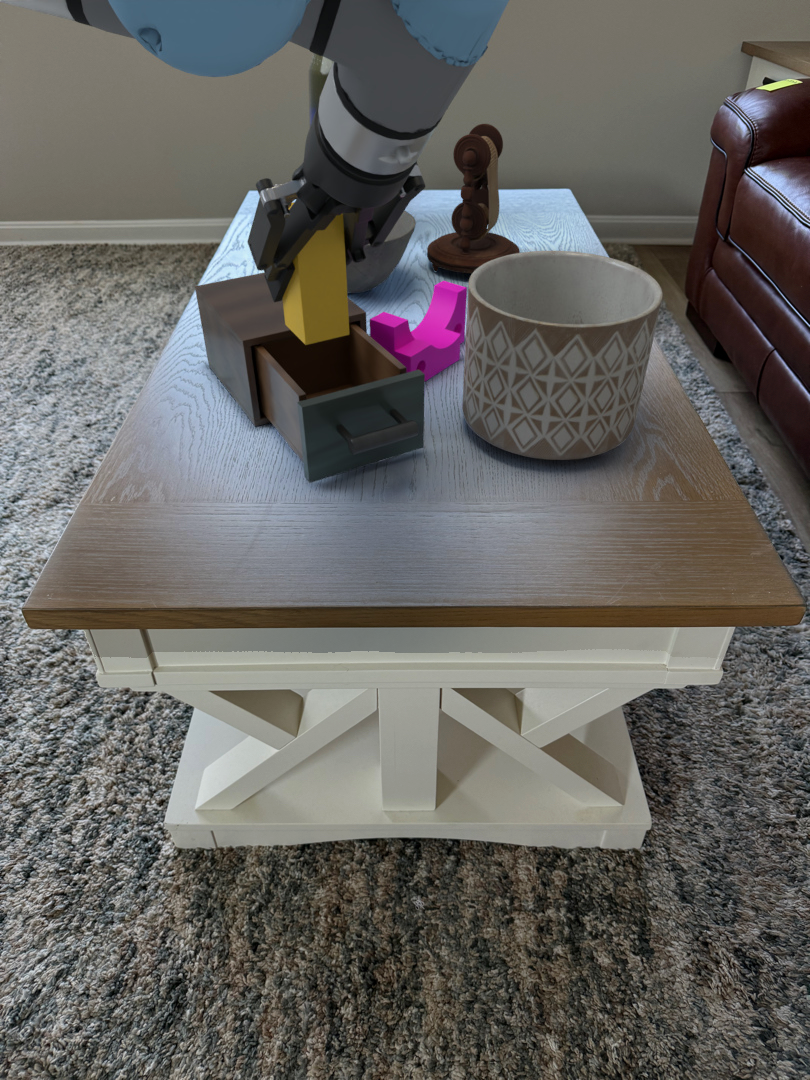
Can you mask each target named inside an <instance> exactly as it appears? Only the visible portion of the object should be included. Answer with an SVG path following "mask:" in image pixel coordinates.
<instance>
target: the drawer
mask: <svg viewBox="0 0 810 1080" xmlns="http://www.w3.org/2000/svg"><path fill="white" fill-rule="evenodd" d="M252 351H253V358H254V365H255V373H256V380H257V387H258V395H259V402H260V408H261V411H262V412H263V413H264V414H265V416H266V417H267V418H268V419H269V421H270V423H271V425H272V426H273V427H274V428H275V429H276V431H277V432H278V433H279V435H280V436H281V437H282V439H284V441H285V443H287V444H288V446H289V447H290V448H291V450H292V451H293V452H294V453H295V455H297V457H298V458H299V459H300V461H301V462H302V463H303V472H304V478H305V479H306V481H307V482H308V483H309V484H311V483H314V482H317V481H320V480H324V479H326V478H329V477H334V476H337V475H339V474H343V473H346V472H349V471H353V470H357V469H359V468H362V467H365V466H369V465H372V464H375V463H378V462H381V461H384V460H387V459H391V458H394V457H397V456H401V455H404V454H407V453H410V452H413V451H417V450H421V449H423V448H424V442H425V441H424V440H425V439H424V437H425V433H424V432H425V425H424V424H425V382H426V381H425V374H424V373H423V372H421V371H420V370H415V371H411V372H408V373H406V367H405V366H404V365H403V364H402V363H401V362H399V361H398V360H397V359H396V358H395V357H394V356H392V355H391V354H390V353H389V352H388V351H387V350H385V349H384V348H383V347H382V346H381V345H380V344H378V343H377V342H376V341H375V340H374V339H373V338H371V337H370V334H368V332H367V333H366V332H364V331H363V330H362V329H361V328H360V327H359V326H357V325H356V324H355V323H354V322H351V323H349V335H346V336H342V337H338V338H333V339H329V340H325V341H321V342H317V343H313V344H308V345H305V344H304V343H303V342H302V341H301V340H300V339H299V338H298V337H297V336H296V335H295V336H291V337H287V338H283V339H278V340H274V341H270V342H265V343H261V344H257V345H253V346H252Z"/></svg>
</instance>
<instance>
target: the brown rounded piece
mask: <svg viewBox="0 0 810 1080" xmlns="http://www.w3.org/2000/svg"><path fill="white" fill-rule="evenodd" d="M503 149H504V140H503V136H502V134H501V133H500V131H499V130H498V128H496V127H495V126H494V125H492V124H490V123H480V124H477V125H476V126H474V127H472V128H471V130H470V131H469V133H468V134H466V135H463V136H462V137H460V138H459V139H458V140H457V142H456V143H455V145H454V149H453V162H454V164H455V166H456V168H457V169H458V171H459V172H460V173H461V174H462V176H463V179H462V181H463V184H464V185H462V187H461V189H460V198H461V199H462V200H461V201H462V202H460V203H458V205H456V206H455V208H454V209H453V211H452V214H451V225H452V228H453V230H454V232H450V233H446V234H443V235H441V236H439V237H438V238H435V239H434V240H431V242H430V243H429V244H428V245H427V248H426V257H427V259H428V261H429V262H430V263H431V266H432V269H433V272H435V273H436V272H438V271H439V268H440V269H443V270H447V271H451V272H455V273H460V274H461V273H462V274H472V273H473V272H474V271H475V270H476V269H477V268H478V267H480V266H481V265H483V264H484V263H486V262H488V261H491V260H493V259H496V258H499V257H502V256H506V255H510V254H516V253H521V252H520V251H521V250H520V248H519V246H518V245H517V244H516V243H515V242H513V241H512V240H511V239H509V238H507V237H506V236H503V235H500V234H497V233H495V232H494V233H493V232H491V230H492V229H493V228H494V227H495V226H496V225H497V222H498V220H499V216H500V192H499V191H500V190H499V174H498V173H499V172H498V170H499V158H500V156H501V155H502V153H503Z"/></svg>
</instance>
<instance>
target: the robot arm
mask: <svg viewBox="0 0 810 1080" xmlns="http://www.w3.org/2000/svg"><path fill="white" fill-rule="evenodd" d="M509 2H510V0H0V3H2V4H6V5H11V6H14V7H19V8H23V9H26V10H30V11H34V12H37V13H42V14H45V15H49V16H53V17H57V18H60V19H65V20H69V21H72V22H76V23H79V24H81V25H85V26H89V27H93V28H94V29H95V28H96V29H98V30H101V31H104V32H107V33H110V34H115V35H119V36H123V37H125V38H130V39H134V40H136V41H137V42H138V43H139V44H140V45H141V46H142V47H143V48H144V49H145V50H146V51H147V52H149V53H150V54H151V55H153V56H155V58H157V59H159V60H160V61H162V62H163V63H165V64H166V65H168V66H170V67H171V68H174V69H175V70H178V71H181V72H184V73H187V74H190V75H195V76H198V77H208V78H222V77H229V76H230V77H231V76H235V75H240V74H242V73H245V72H247V71H250V70H252V69H253V68H255V67H257V66H260V65H261V64H262V63H263V62H265V61H266V60H267V59H268V58H270V57H272V56H273V55H275V54H276V53H278V52H279V51H280V50H281V49H283V48H284V47H285V46H286V45H287V44H288V43H289V42H290V43H292V44H294V45H297V46H299V47H300V48H304V49H306V50H308V51H309V52H310V53H313V54H314V53H315V54H317V55H319V56H323V57H325V58H327V59H329V60H331V61H333V64H332V66H331V69H330V72H329V74H328V77H327V80H326V82H325V85H324V88H323V90H322V93H321V96H320V100H319V104H318V107H317V109H316V112H315V115H314V118H313V120H312V123H311V126H310V125H309V129H308V132H307V135H306V139H305V143H304V155H303V156H304V157H303V162H302V163H301V164H300V165H299V166H298V167H297V168H296V169H295V170H294V171H293V173H292V175H291V180H290V181H287V182H284V183H281V184H279V183H275V184H273V181H272V180H271V178H267V177H266V178H262V179H260V180H258V181H257V182H256V183H255V187H256V190H257V193H258V197H259V198H258V202H257V206H256V209H255V213H254V216H253V220H252V222H251V223H252V224H251V228H250V231H249V234H248V239H247V245H248V248H249V251H250V253H251V256H252V259H253V261H254V265H255V267H256V270H258V271H261V272H262V271H263V273H264V272H265V275H264V276H265V279H266V282H267V285H268V287H269V290H270V293H271V296H272V298H273V301H274V302H278V301H282V298H283V296H284V293H285V291H286V289H287V286H288V284H289V282H290V280H291V277H292V275H293V273H294V271H295V267H294V264H293V260H294V259H295V257H296V256H297V255H298V254H299V252H300V251H301V250H302V249H303V247H304V246H305V245H306V244H307V243H308V241H309V240H310V239H311V238H312V236H313V235H314V234H315V233H316V231H317V230H325V229H326V228H327V227H328V225H329V224H330V223H331V222H332V220H333V219H334V218H335V217H336V216H337V215H341V214H342V213H343V220H344V239H345V258H346V266H347V265H349V264H350V263H351V262H352V260H353V261H354V263H359V262H362V261H363V260H365V259H366V256H365V253H364V250H363V249H364V246H365V245H368V244H370V246H371V247H372V248H376V247H379V246H380V245H382V244H383V243H384V241H385V240H386V238H387V237H388V235H389V233H390V232H391V230H392V229H393V227H394V226H395V224H396V223H397V221H398V219H399V218H400V216H401V215H402V213H403V212H404V211H406V208H408V205H409V204H410V203H411V201H412V200H413V199H415V197H417V196H418V195H419V194H420V193H422V191H424V189H425V188H426V183H425V180H424V178H423V175H422V172H421V169H420V166H419V164H418V159H420V156H421V154H422V153H423V151H424V150H425V148H426V146H427V144H428V142H429V141H430V139H431V137H432V136H433V134H434V133H435V130H436V129H437V127H438V125H439V124H440V122H441V121H442V119H443V117H444V115H445V113H446V111H447V110H448V109H449V107H450V105H451V104H452V102H453V100H454V99H455V97H456V96H457V94H458V93H459V91H460V89H461V88H462V86H463V85H464V83H465V82H466V80H467V78H468V77H469V75H470V74H471V72H472V70H473V69H474V67H475V66H476V64H477V62H479V61H480V60H481V58H482V57H483V56H484V55H485V53H486V52H487V50H488V48H489V45H488V44H489V42H490V40H491V38H492V36H493V34H494V32H495V30H496V28H497V26H498V23H500V20H501V19H502V16H503V14H504V12H505V10H506V8H507V6H508V3H509ZM293 202H294V204H293V205H292V207H291V208H290V209H289V207H290V206H291V203H293Z"/></svg>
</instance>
